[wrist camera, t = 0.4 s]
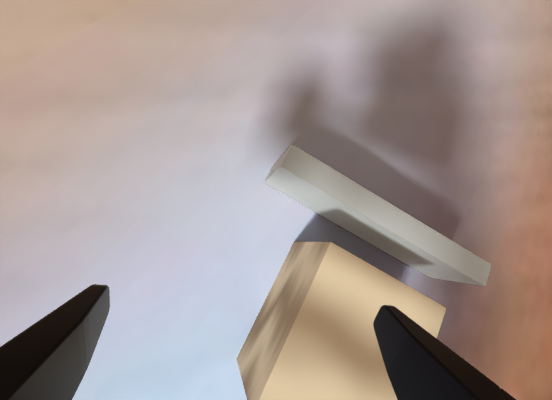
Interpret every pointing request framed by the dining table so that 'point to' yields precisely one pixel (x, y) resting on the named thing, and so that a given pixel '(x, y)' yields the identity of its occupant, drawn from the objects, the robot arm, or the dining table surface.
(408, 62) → the dining table surface
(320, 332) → the birch block
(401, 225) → the stop board
